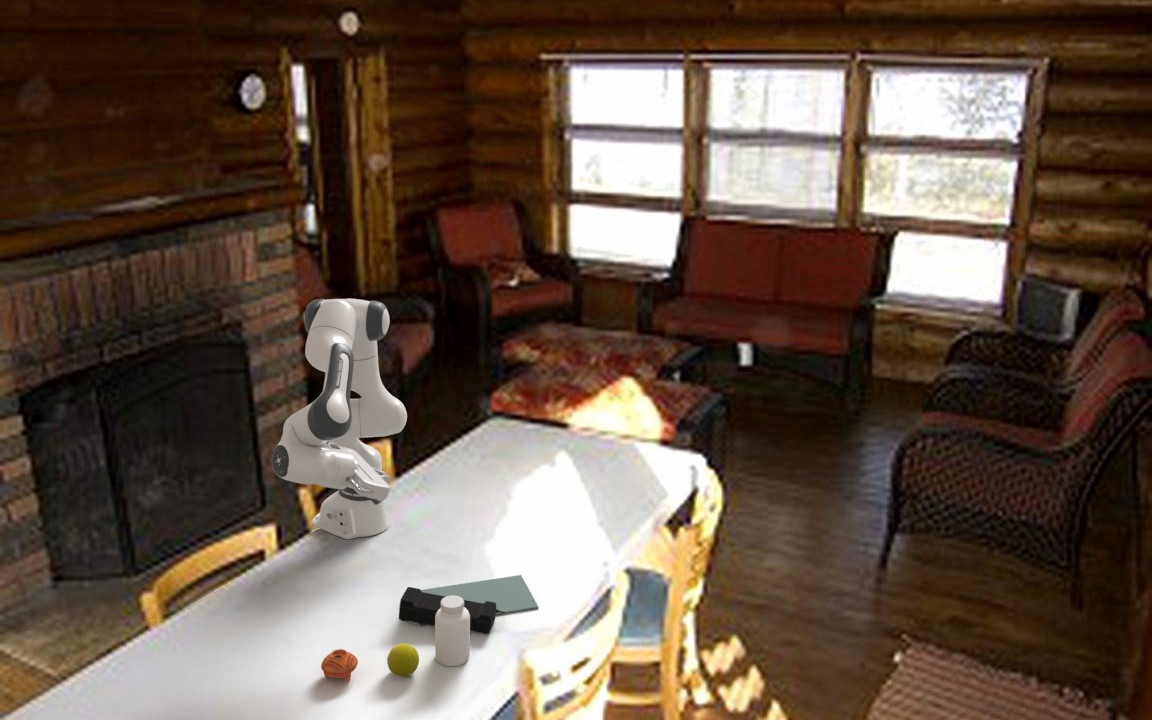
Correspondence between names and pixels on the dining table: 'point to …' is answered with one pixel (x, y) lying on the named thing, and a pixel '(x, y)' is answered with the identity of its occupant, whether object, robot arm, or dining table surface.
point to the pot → (339, 664)
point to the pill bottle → (452, 632)
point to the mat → (492, 594)
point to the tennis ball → (403, 660)
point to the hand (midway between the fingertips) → (386, 477)
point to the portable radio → (426, 605)
